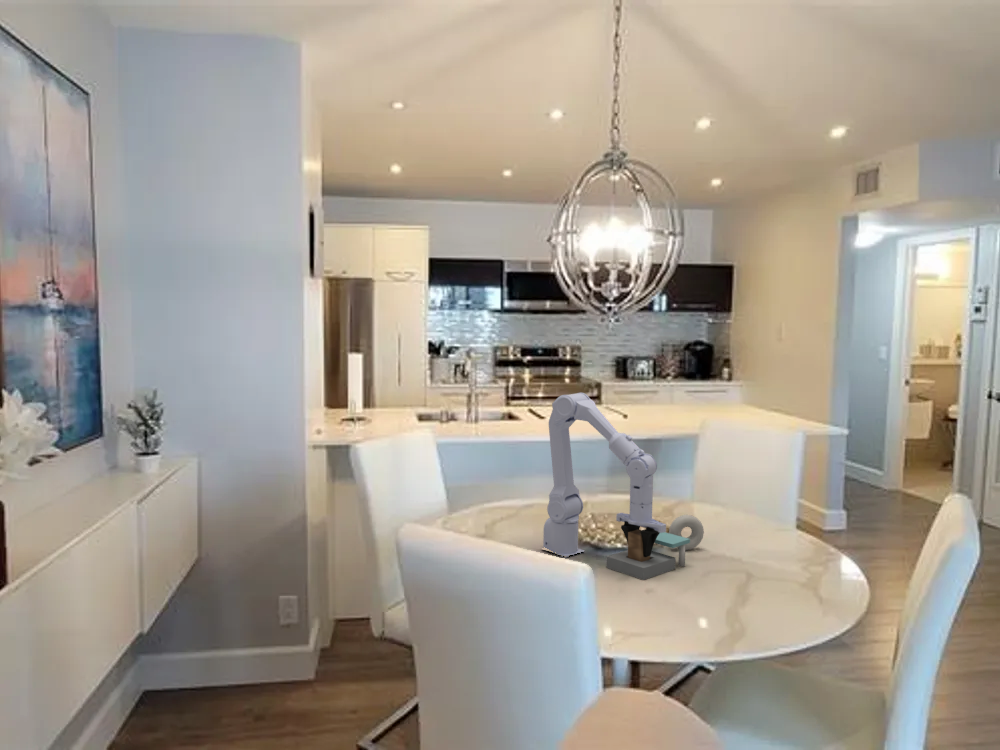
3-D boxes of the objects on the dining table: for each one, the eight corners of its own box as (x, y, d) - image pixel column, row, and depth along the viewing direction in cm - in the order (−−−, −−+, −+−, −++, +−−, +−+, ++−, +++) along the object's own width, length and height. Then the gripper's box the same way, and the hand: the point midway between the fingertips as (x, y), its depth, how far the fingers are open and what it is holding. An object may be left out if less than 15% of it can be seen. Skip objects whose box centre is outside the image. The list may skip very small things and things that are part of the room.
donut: (670, 552, 207) (671, 516, 206) (666, 548, 210) (667, 513, 209) (705, 551, 208) (706, 515, 207) (700, 547, 211) (701, 512, 211)
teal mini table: (632, 558, 201) (632, 533, 200) (649, 553, 205) (650, 528, 205) (672, 571, 191) (672, 544, 190) (689, 565, 196) (690, 538, 195)
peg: (627, 562, 192) (628, 532, 192) (637, 559, 195) (638, 529, 194) (640, 566, 189) (640, 535, 189) (649, 563, 192) (650, 532, 191)
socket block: (606, 567, 193) (606, 556, 193) (638, 557, 201) (638, 546, 201) (643, 580, 184) (643, 568, 184) (675, 569, 192) (675, 557, 192)
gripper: (609, 499, 194) (608, 550, 195) (654, 510, 183) (652, 564, 184) (626, 495, 199) (625, 545, 200) (671, 505, 188) (670, 558, 189)
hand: (639, 553), depth 192 cm, fingers closed on peg, 4 cm apart
